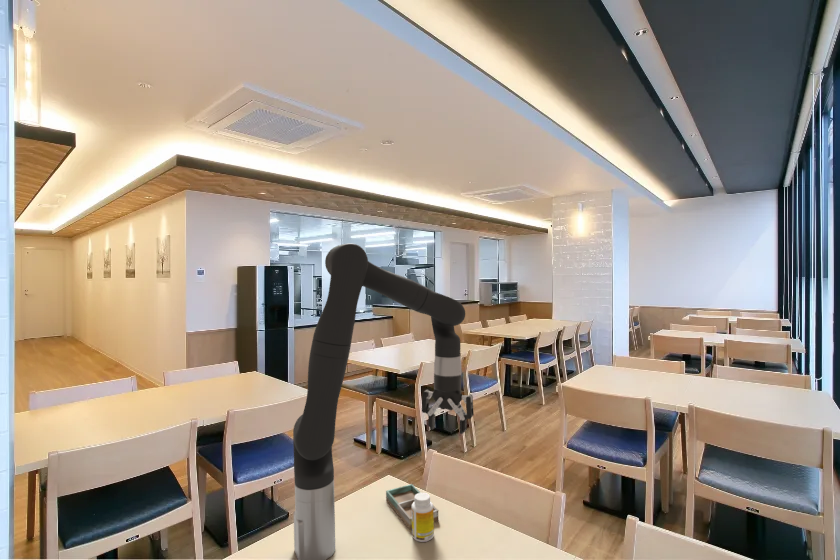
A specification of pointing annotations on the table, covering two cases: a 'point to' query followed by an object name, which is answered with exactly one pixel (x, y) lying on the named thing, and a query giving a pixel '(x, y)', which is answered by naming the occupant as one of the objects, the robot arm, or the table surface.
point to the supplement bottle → (422, 518)
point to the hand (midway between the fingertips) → (447, 430)
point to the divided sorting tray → (405, 503)
